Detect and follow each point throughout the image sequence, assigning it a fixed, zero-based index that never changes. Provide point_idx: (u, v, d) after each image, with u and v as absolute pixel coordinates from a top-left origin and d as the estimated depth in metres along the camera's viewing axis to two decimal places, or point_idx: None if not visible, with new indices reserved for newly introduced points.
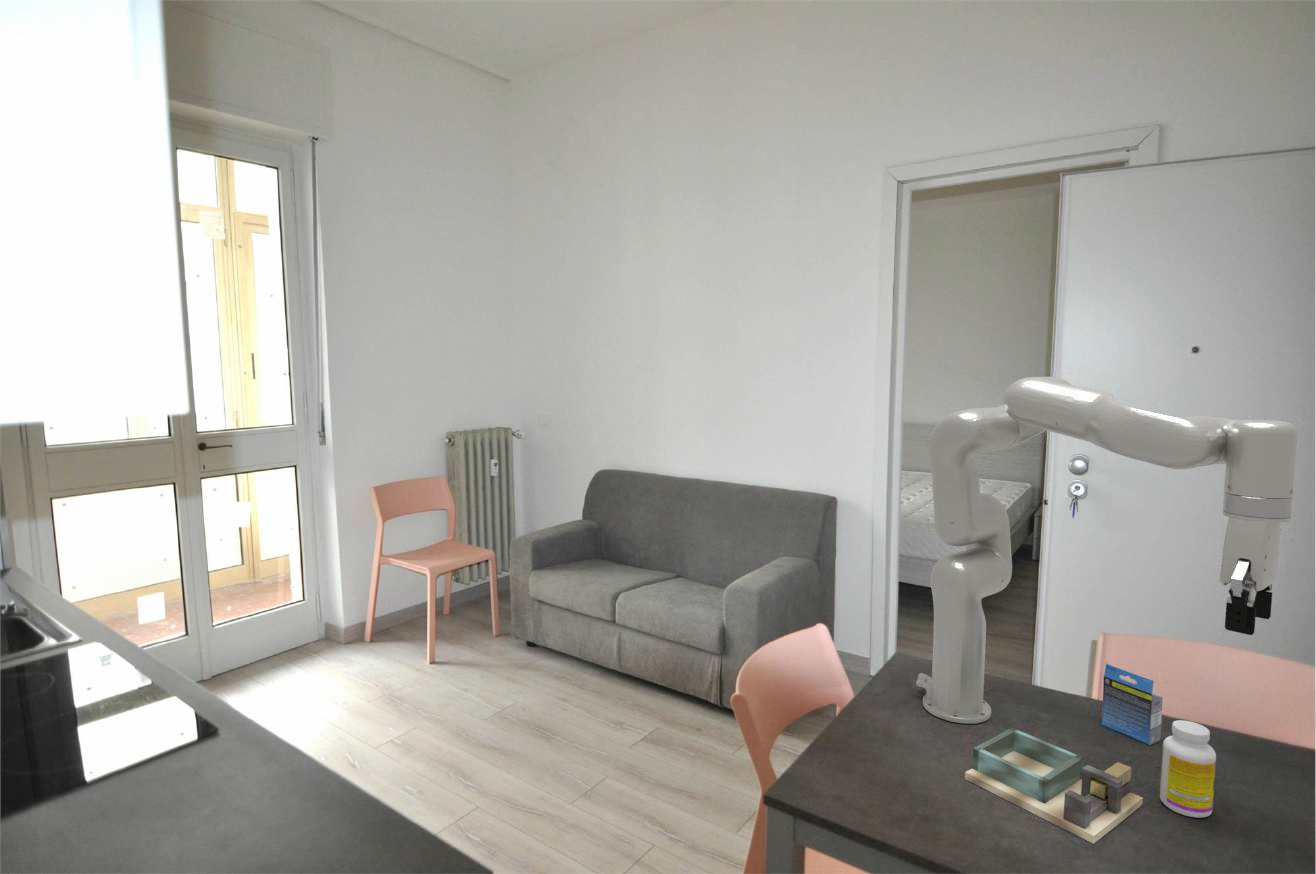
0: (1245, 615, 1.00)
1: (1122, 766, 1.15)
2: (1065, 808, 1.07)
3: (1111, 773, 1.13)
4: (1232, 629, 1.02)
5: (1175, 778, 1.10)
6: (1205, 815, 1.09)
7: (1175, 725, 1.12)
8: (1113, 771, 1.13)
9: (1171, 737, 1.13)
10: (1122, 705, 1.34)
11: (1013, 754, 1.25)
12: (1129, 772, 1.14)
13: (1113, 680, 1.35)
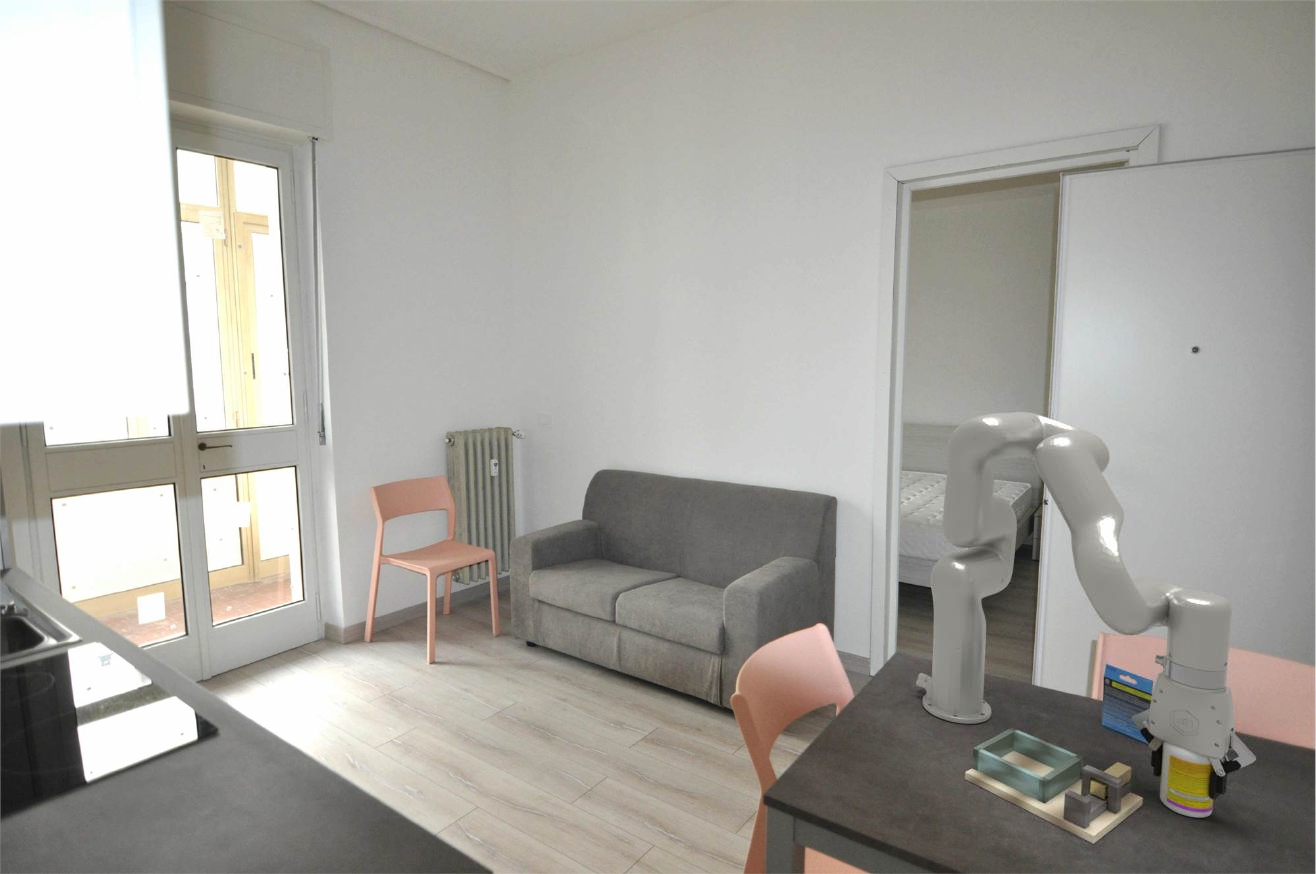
0: (1226, 780, 1.08)
1: (1122, 766, 1.15)
2: (1065, 808, 1.07)
3: (1111, 773, 1.13)
4: (1216, 797, 1.08)
5: (1175, 778, 1.10)
6: (1205, 815, 1.09)
7: None
8: (1113, 771, 1.13)
9: None
10: (1122, 705, 1.34)
11: (1013, 754, 1.25)
12: (1129, 772, 1.14)
13: (1113, 680, 1.35)
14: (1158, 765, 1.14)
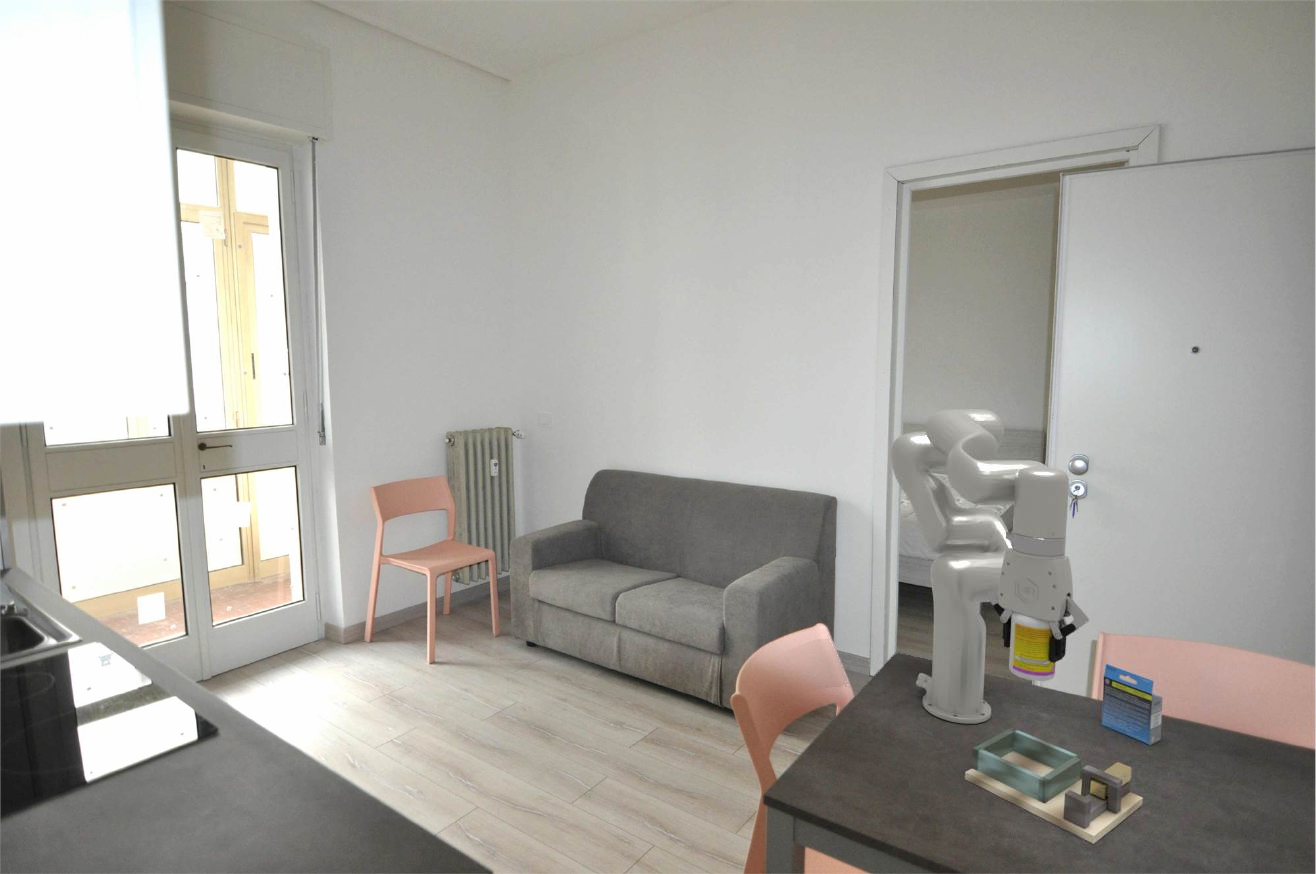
0: (1065, 644, 1.14)
1: (1122, 766, 1.15)
2: (1065, 808, 1.07)
3: (1111, 773, 1.13)
4: (1055, 660, 1.14)
5: (1019, 644, 1.16)
6: (1046, 678, 1.15)
7: None
8: (1113, 771, 1.13)
9: None
10: (1122, 705, 1.34)
11: (1013, 754, 1.25)
12: (1129, 772, 1.14)
13: (1113, 680, 1.35)
14: (1007, 636, 1.19)
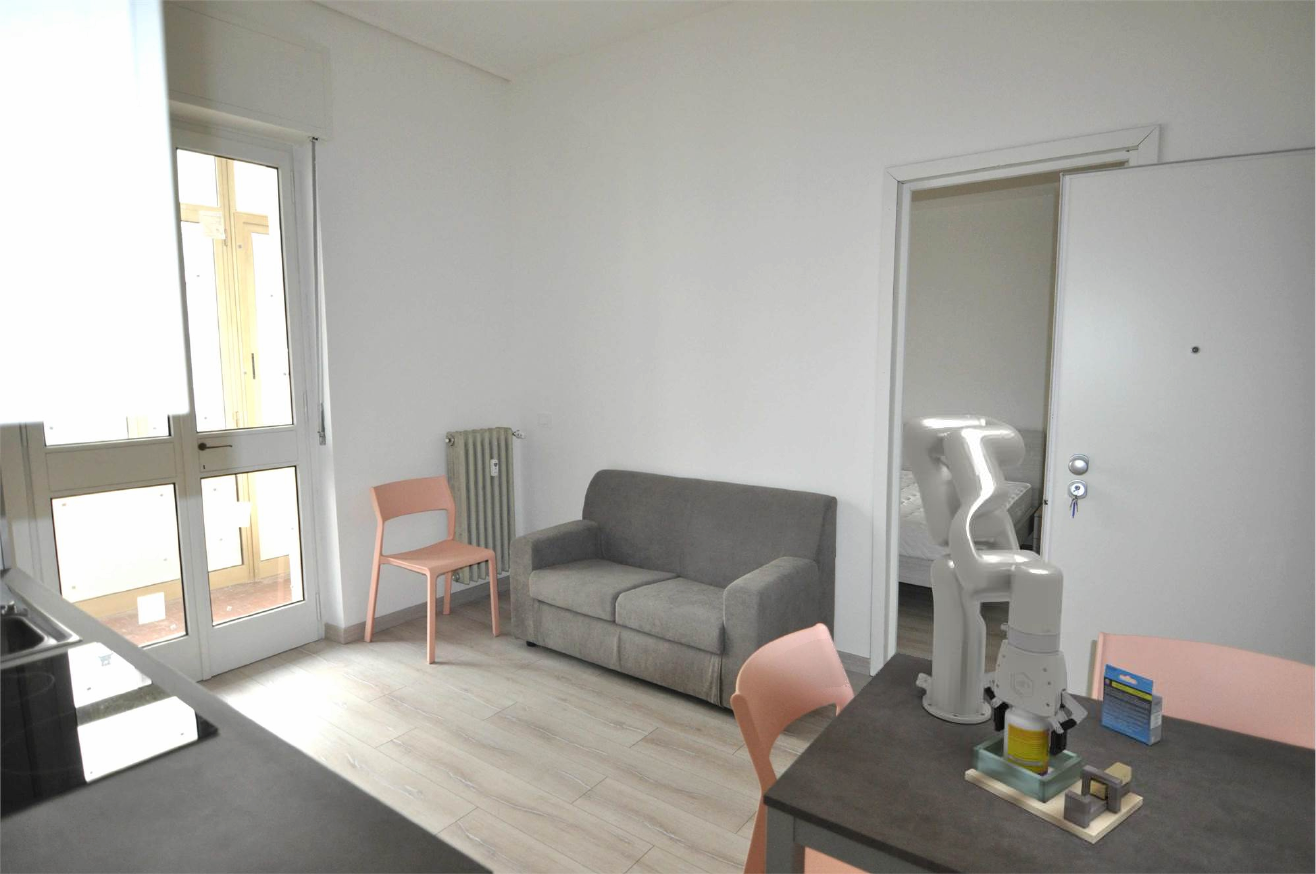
0: (1066, 737, 1.15)
1: (1122, 766, 1.15)
2: (1065, 808, 1.07)
3: (1111, 773, 1.13)
4: (1056, 753, 1.15)
5: (1013, 744, 1.18)
6: None
7: None
8: (1113, 771, 1.13)
9: (1012, 707, 1.20)
10: (1122, 705, 1.34)
11: None
12: (1129, 772, 1.14)
13: (1113, 680, 1.35)
14: (998, 721, 1.21)
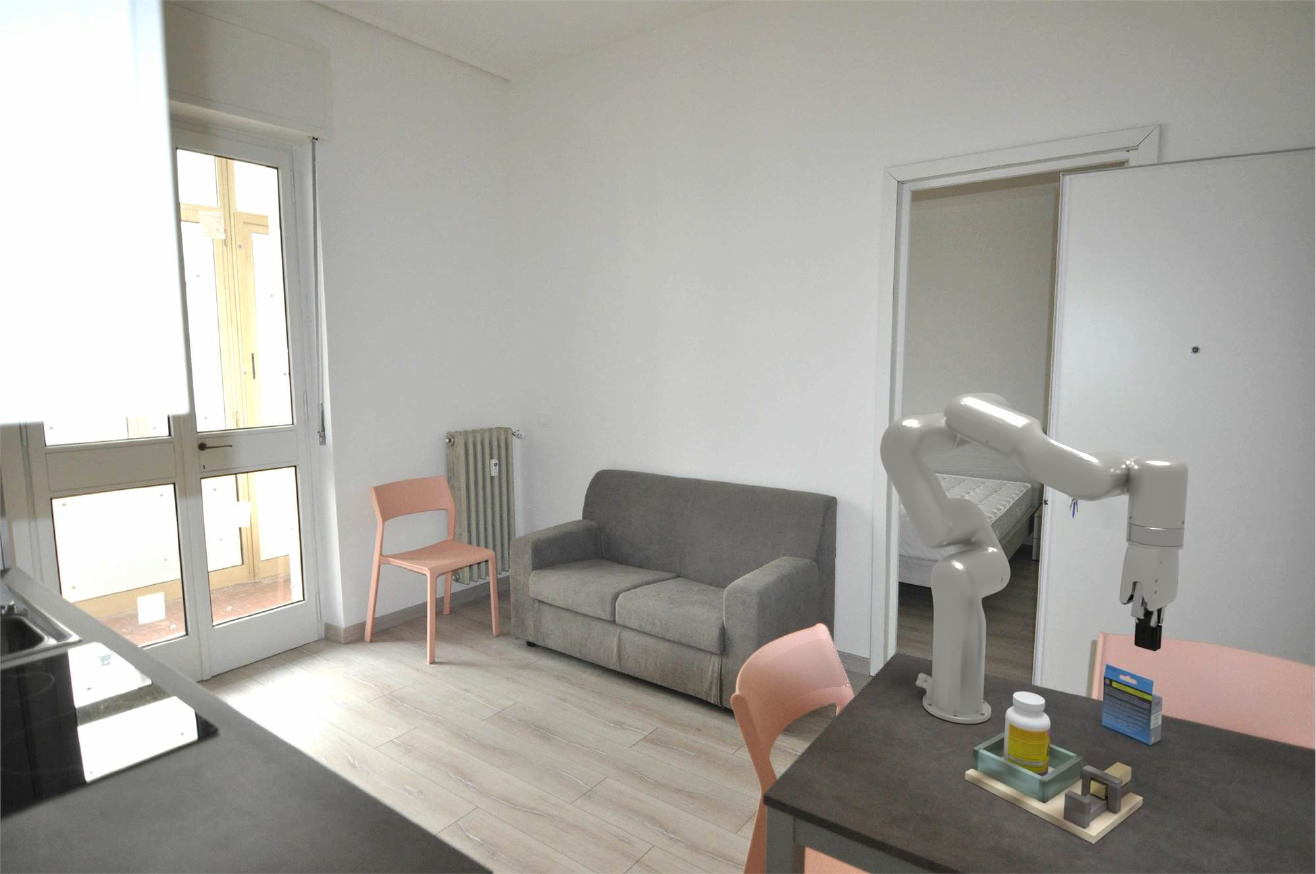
0: (1149, 634, 1.15)
1: (1122, 766, 1.15)
2: (1065, 808, 1.07)
3: (1111, 773, 1.13)
4: (1140, 645, 1.16)
5: (1013, 745, 1.18)
6: None
7: (1015, 696, 1.19)
8: (1113, 771, 1.13)
9: (1012, 707, 1.20)
10: (1123, 705, 1.34)
11: None
12: (1129, 772, 1.14)
13: (1113, 680, 1.35)
14: None
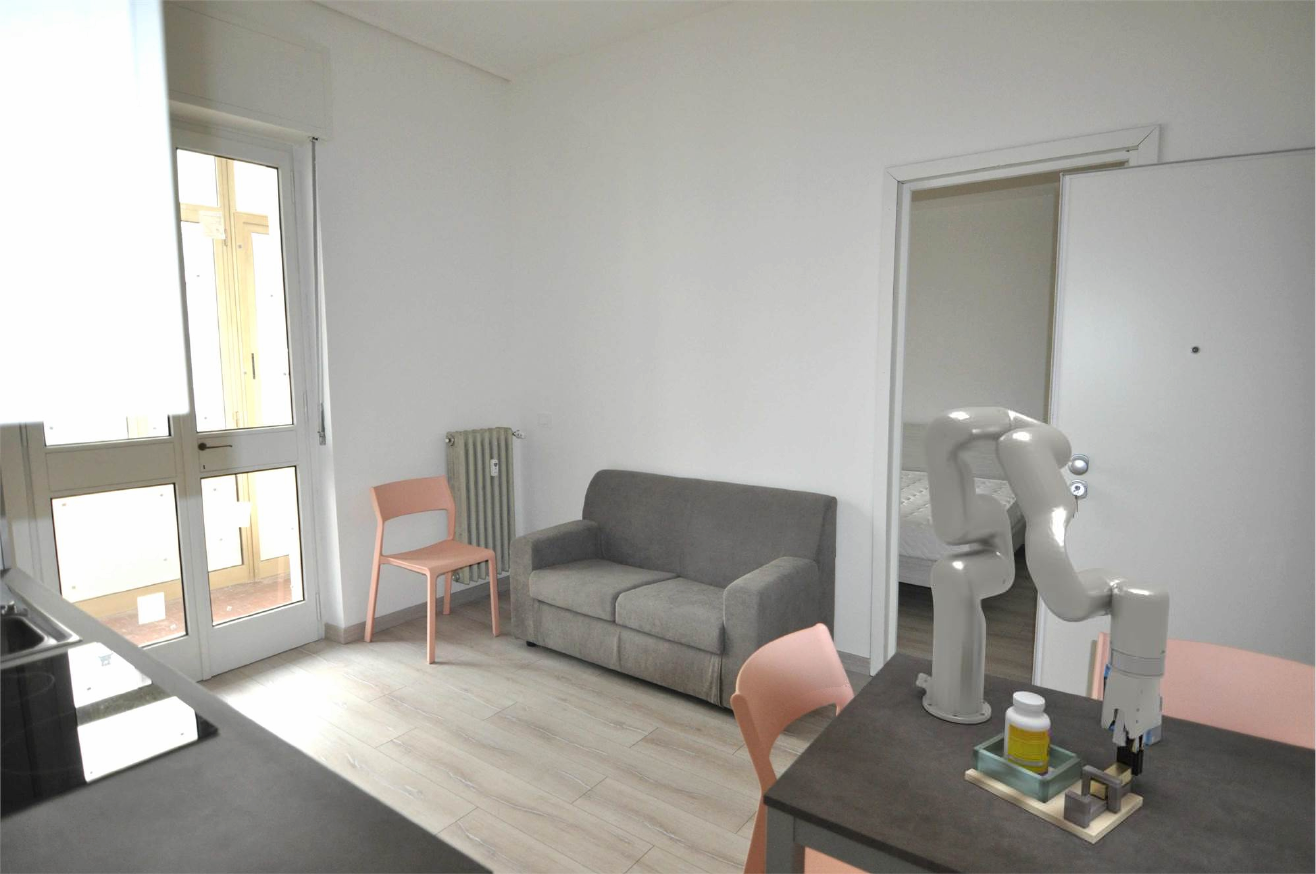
0: (1131, 759, 1.15)
1: (1122, 766, 1.15)
2: (1065, 808, 1.07)
3: (1111, 773, 1.13)
4: None
5: (1013, 745, 1.18)
6: None
7: (1015, 696, 1.19)
8: (1113, 771, 1.13)
9: (1012, 707, 1.20)
10: None
11: None
12: (1129, 772, 1.14)
13: None
14: None
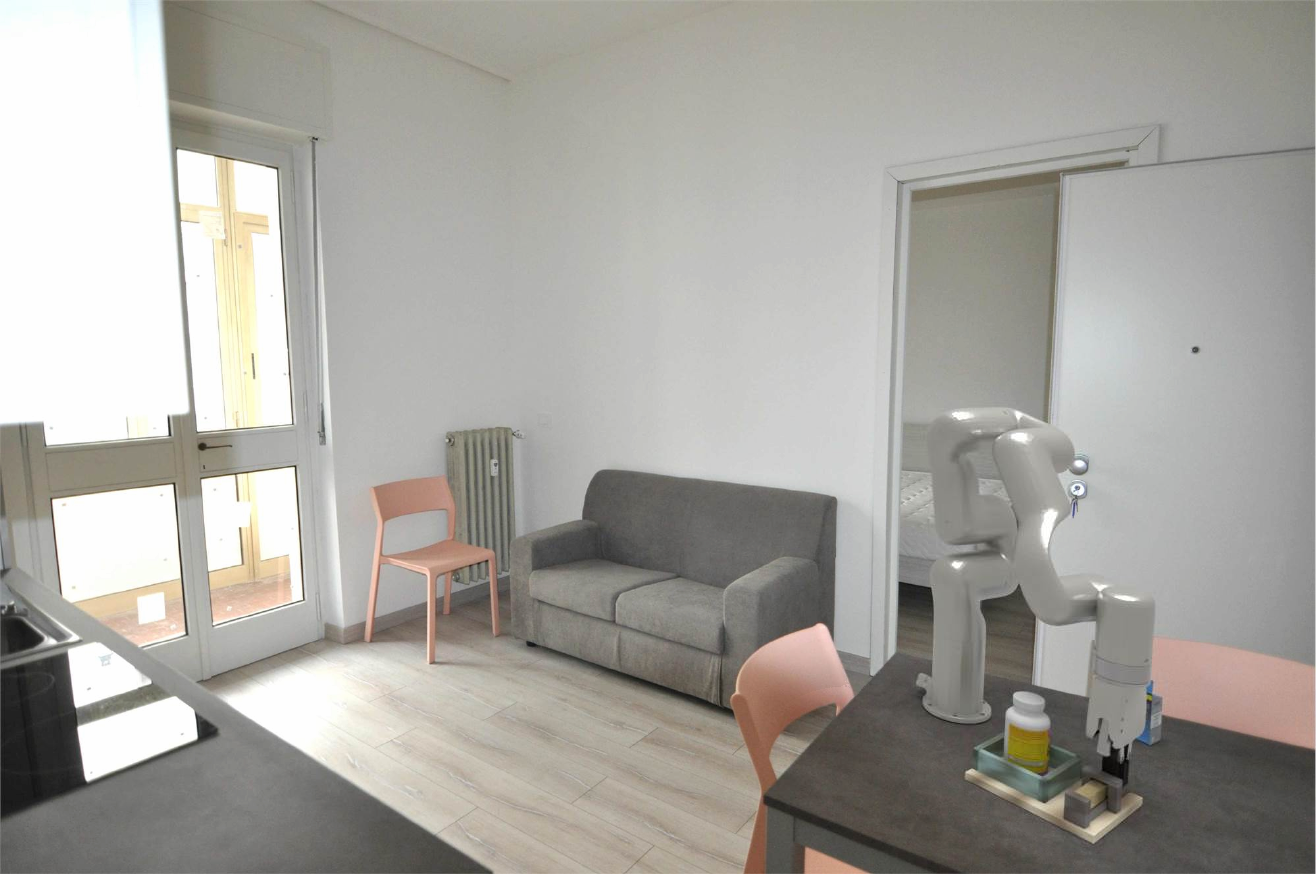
0: (1116, 769, 1.12)
1: None
2: (1065, 808, 1.07)
3: (1095, 784, 1.10)
4: None
5: (1013, 745, 1.18)
6: None
7: (1015, 695, 1.19)
8: (1098, 782, 1.10)
9: (1012, 707, 1.20)
10: None
11: None
12: None
13: None
14: None
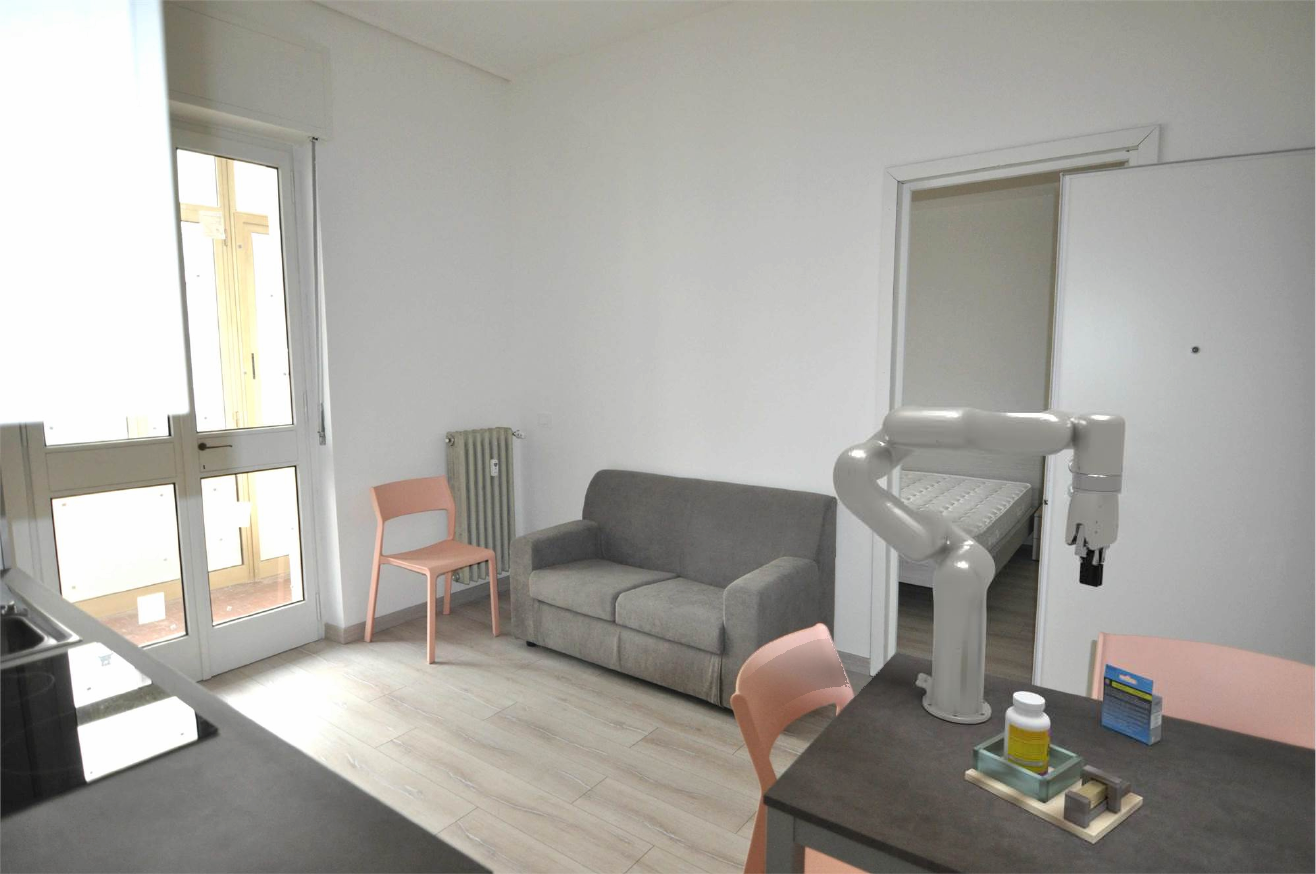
0: (1091, 571, 1.28)
1: None
2: (1065, 808, 1.07)
3: (1096, 784, 1.10)
4: (1084, 583, 1.30)
5: (1013, 745, 1.18)
6: None
7: (1015, 695, 1.19)
8: (1098, 782, 1.10)
9: (1012, 707, 1.20)
10: (1122, 705, 1.34)
11: None
12: None
13: (1113, 680, 1.35)
14: None
